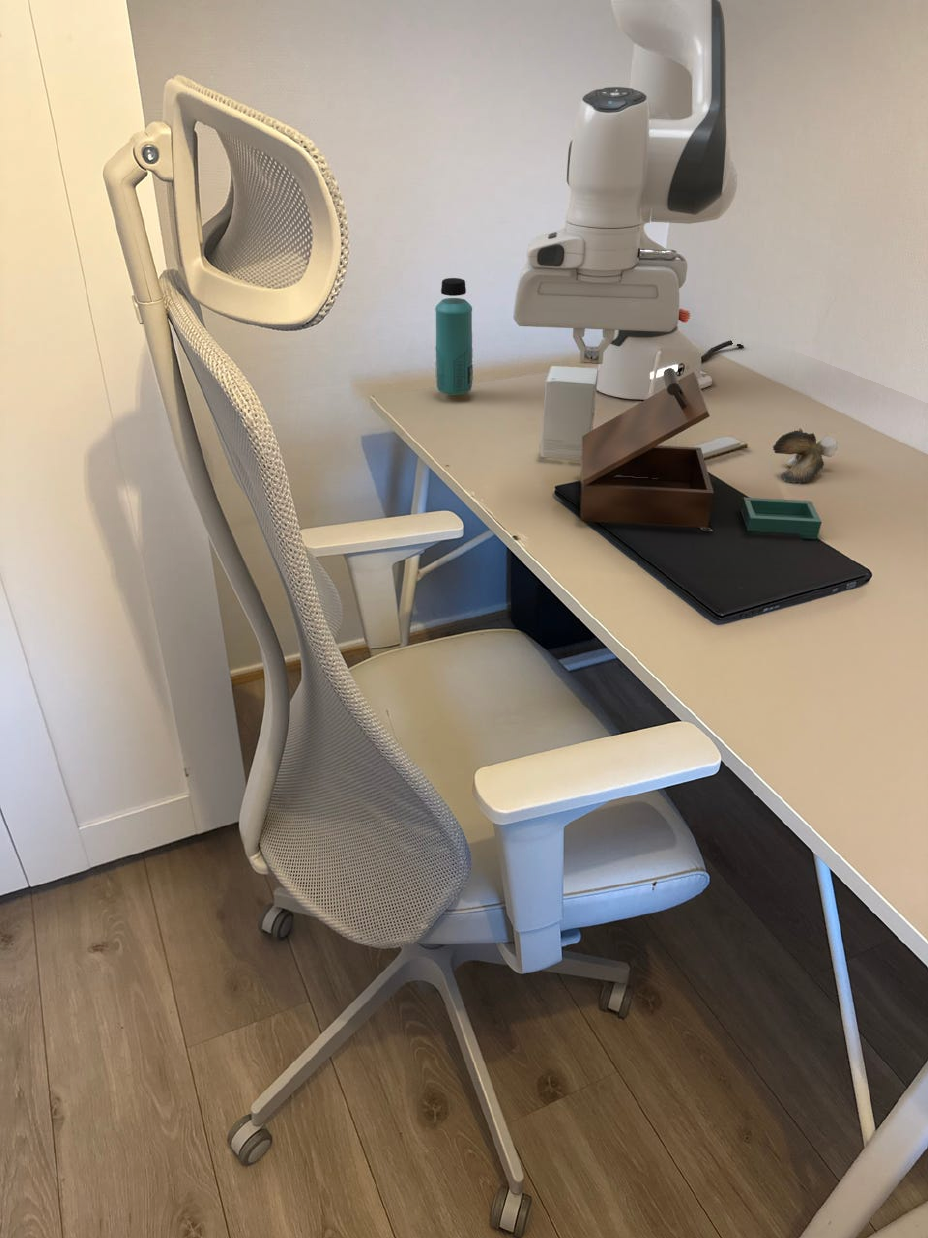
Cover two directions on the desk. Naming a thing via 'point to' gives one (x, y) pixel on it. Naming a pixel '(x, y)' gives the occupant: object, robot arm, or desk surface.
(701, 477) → the box
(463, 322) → the beverage bottle
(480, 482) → the desk surface
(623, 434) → the lid
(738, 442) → the harmonica
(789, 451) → the eagle figurine
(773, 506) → the dish
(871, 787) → the desk surface
